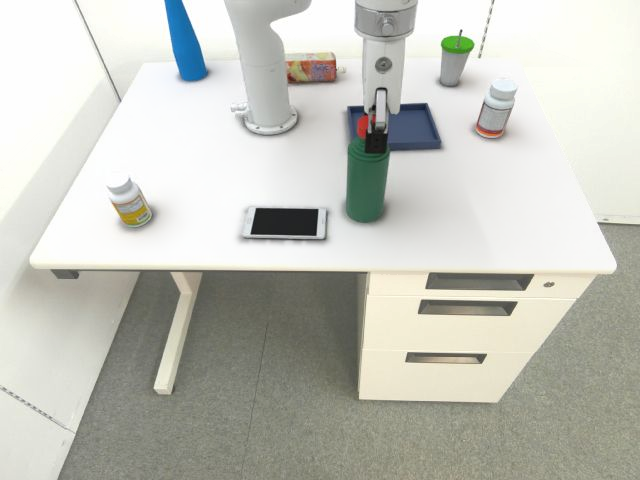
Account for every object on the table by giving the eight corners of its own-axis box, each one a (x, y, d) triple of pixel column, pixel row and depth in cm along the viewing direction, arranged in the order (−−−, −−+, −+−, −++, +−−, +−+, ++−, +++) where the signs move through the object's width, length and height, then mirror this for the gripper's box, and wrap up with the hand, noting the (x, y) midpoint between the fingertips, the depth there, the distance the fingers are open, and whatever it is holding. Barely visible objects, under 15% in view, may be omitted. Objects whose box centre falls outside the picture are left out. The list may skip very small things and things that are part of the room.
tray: (351, 152, 88) (352, 144, 86) (347, 113, 98) (347, 105, 96) (439, 148, 88) (441, 141, 86) (426, 110, 98) (427, 102, 96)
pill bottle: (485, 120, 94) (500, 73, 85) (508, 131, 91) (526, 84, 82) (469, 130, 92) (483, 83, 83) (492, 142, 88) (509, 95, 80)
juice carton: (335, 71, 111) (335, 46, 106) (336, 83, 107) (336, 58, 102) (258, 74, 111) (255, 50, 106) (257, 87, 107) (253, 62, 102)
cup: (445, 71, 109) (458, 12, 97) (470, 82, 105) (486, 21, 94) (427, 82, 106) (438, 22, 94) (452, 93, 102) (467, 32, 90)
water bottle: (347, 223, 74) (350, 140, 60) (344, 197, 79) (346, 114, 65) (385, 221, 74) (396, 138, 60) (380, 195, 79) (389, 112, 65)
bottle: (175, 79, 111) (133, -53, 88) (189, 66, 115) (152, -63, 92) (199, 83, 109) (162, -51, 86) (211, 70, 114) (180, -61, 90)
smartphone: (248, 206, 77) (326, 207, 76) (249, 208, 77) (326, 210, 77) (241, 236, 72) (324, 237, 71) (242, 238, 73) (324, 240, 72)
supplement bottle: (127, 208, 79) (105, 170, 71) (154, 206, 79) (135, 168, 71) (120, 229, 75) (97, 191, 68) (149, 226, 75) (129, 188, 68)
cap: (366, 121, 65) (367, 112, 64) (388, 130, 63) (389, 120, 62) (352, 134, 63) (352, 124, 62) (374, 143, 61) (375, 133, 60)
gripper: (423, 48, 44) (402, 174, 57) (409, -10, 55) (394, 107, 68) (354, 48, 44) (349, 173, 58) (354, -10, 55) (350, 106, 69)
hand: (374, 136), depth 63 cm, fingers open, 6 cm apart
